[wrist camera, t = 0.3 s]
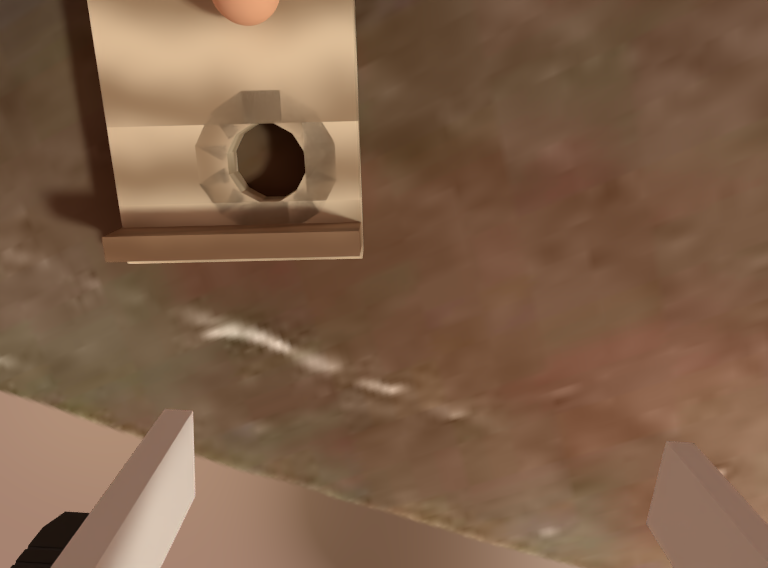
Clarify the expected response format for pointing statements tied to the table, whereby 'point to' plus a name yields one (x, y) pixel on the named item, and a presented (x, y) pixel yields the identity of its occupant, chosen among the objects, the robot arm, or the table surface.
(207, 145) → the board
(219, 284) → the table surface
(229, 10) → the ball
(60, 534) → the robot arm
